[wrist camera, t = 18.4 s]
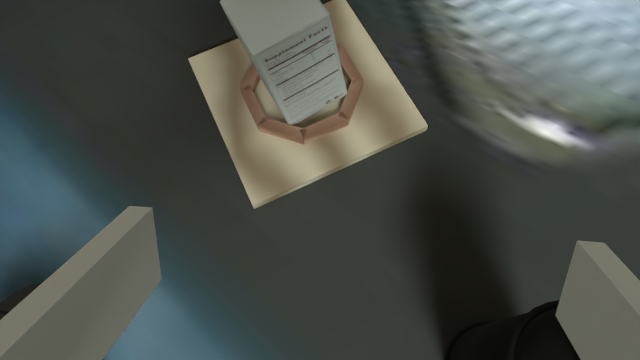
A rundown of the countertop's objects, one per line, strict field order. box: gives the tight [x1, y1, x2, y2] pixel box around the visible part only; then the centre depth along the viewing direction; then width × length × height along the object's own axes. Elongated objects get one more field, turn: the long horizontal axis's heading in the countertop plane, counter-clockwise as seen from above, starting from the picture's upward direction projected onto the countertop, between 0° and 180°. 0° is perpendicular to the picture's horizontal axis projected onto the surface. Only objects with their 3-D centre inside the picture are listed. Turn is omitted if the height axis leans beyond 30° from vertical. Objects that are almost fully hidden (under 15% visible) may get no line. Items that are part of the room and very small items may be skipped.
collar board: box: [188, 0, 428, 209], centre depth 49 cm, size 20×20×2 cm
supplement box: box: [220, 0, 347, 125], centre depth 43 cm, size 7×7×13 cm
